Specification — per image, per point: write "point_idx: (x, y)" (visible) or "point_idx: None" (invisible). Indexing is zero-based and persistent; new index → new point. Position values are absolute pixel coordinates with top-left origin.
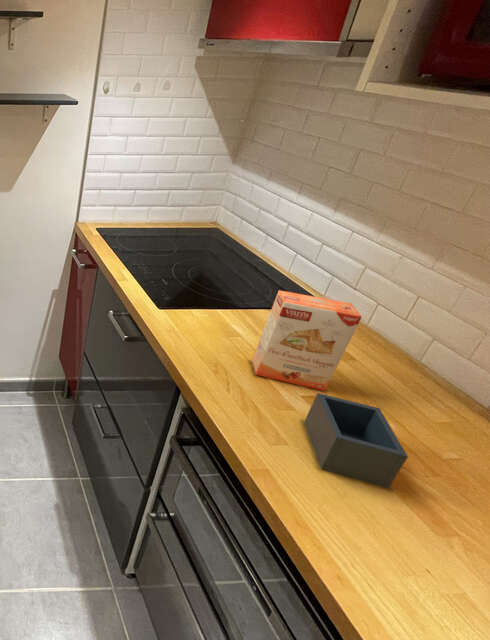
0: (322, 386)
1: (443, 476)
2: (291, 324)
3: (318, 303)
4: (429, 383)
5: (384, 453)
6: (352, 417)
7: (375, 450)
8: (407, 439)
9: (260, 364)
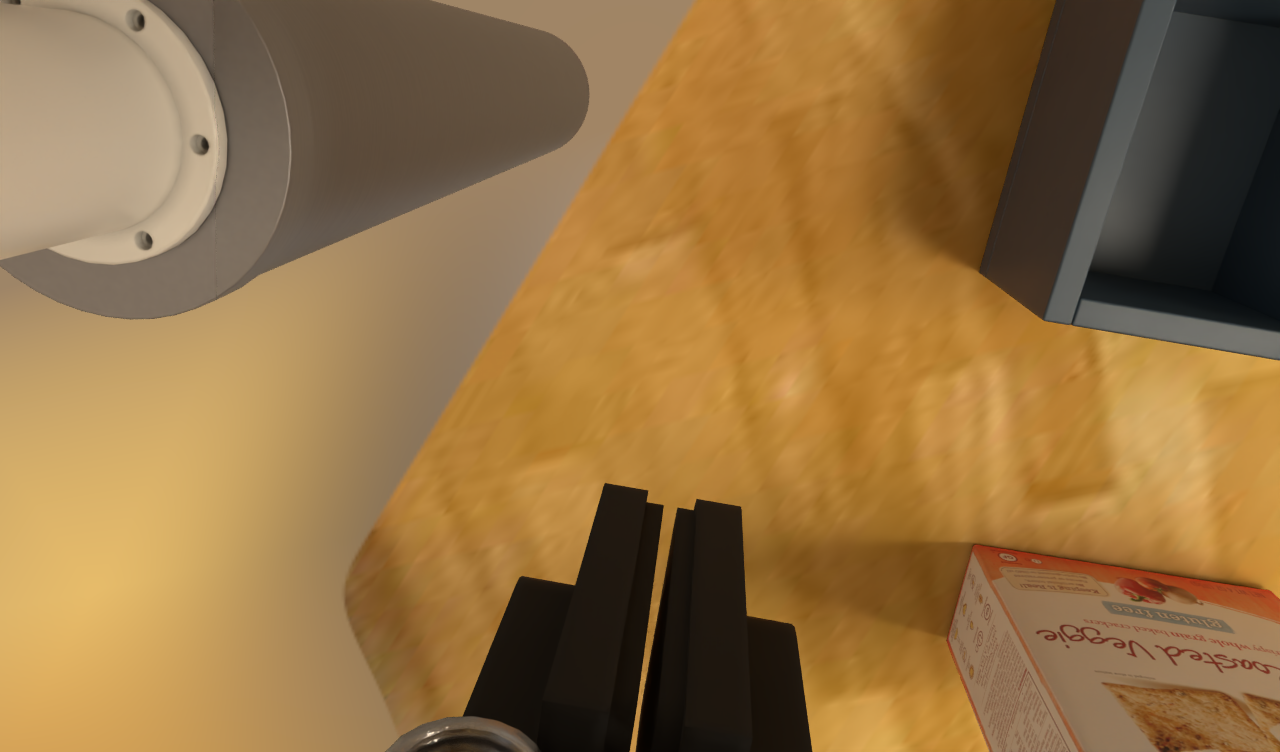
0: (998, 557)
1: (758, 120)
2: None
3: None
4: (461, 683)
5: None
6: (1120, 290)
7: None
8: (774, 313)
9: None
